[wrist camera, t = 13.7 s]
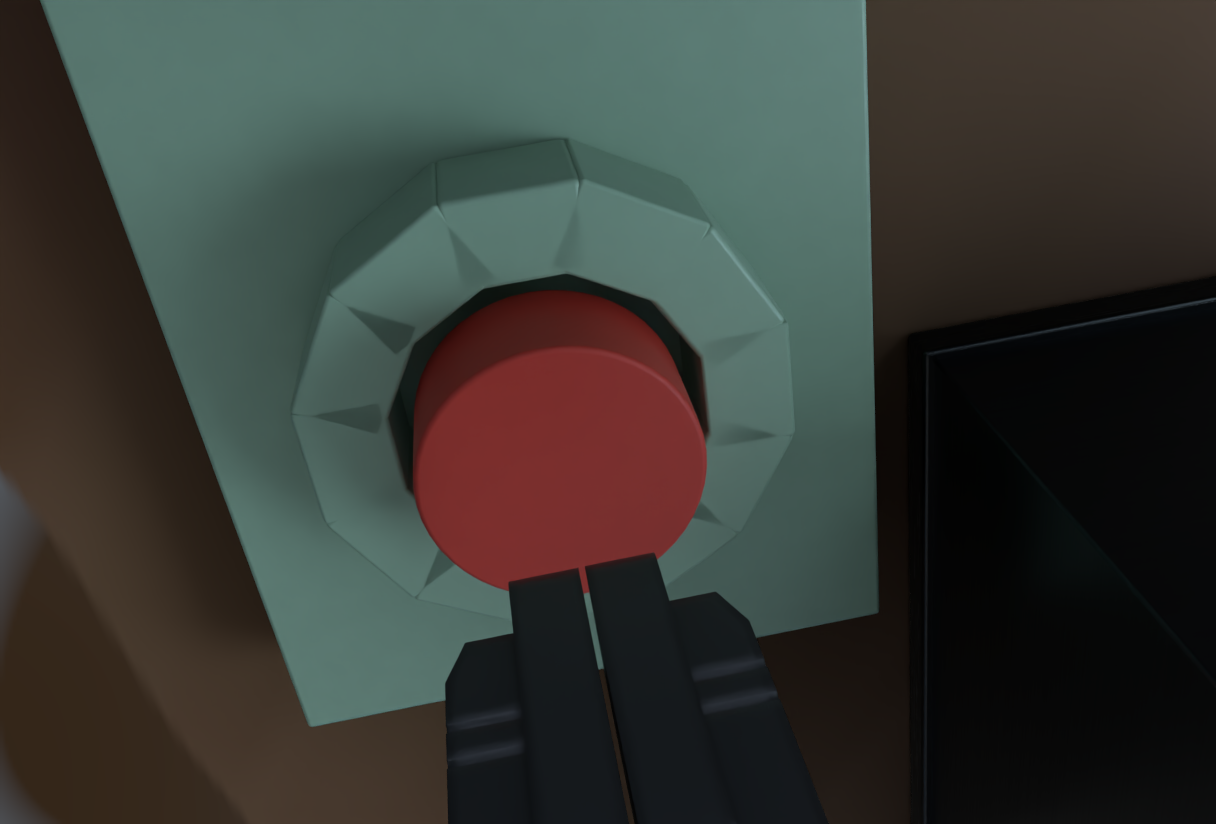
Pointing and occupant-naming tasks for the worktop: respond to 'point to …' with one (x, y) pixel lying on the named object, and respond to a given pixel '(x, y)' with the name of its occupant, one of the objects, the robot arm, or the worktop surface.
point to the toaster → (1065, 564)
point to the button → (554, 439)
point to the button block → (494, 277)
